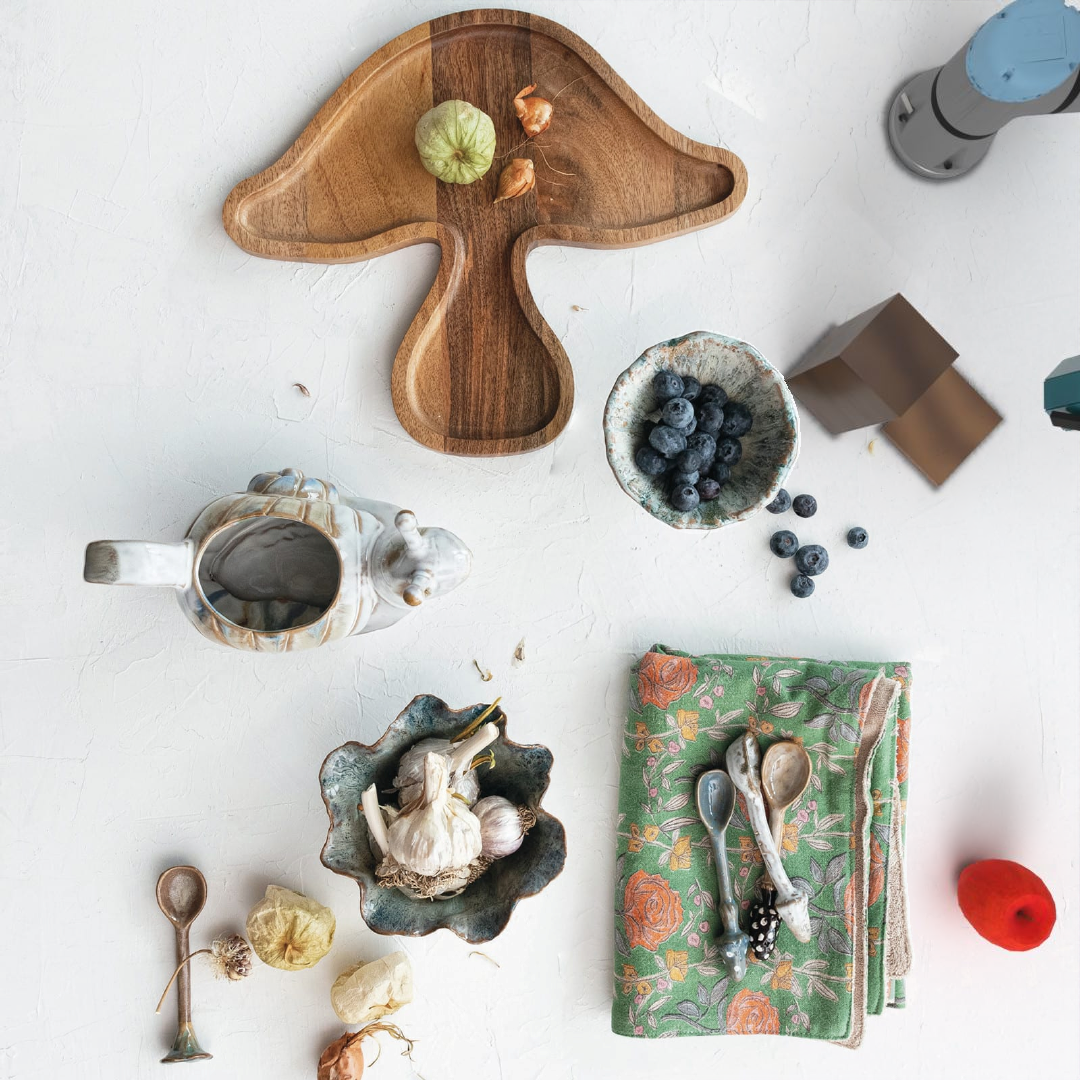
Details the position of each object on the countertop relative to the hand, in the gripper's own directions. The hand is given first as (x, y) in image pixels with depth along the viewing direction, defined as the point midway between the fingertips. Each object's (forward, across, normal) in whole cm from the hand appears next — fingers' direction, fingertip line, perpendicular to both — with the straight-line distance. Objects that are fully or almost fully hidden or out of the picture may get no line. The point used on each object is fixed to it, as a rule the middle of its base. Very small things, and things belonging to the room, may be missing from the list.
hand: (1069, 379), depth 94 cm
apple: (-3, -60, -49) cm, 77 cm away
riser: (+33, -1, -12) cm, 35 cm away
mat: (+20, 0, -25) cm, 32 cm away
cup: (0, 0, -4) cm, 4 cm away
